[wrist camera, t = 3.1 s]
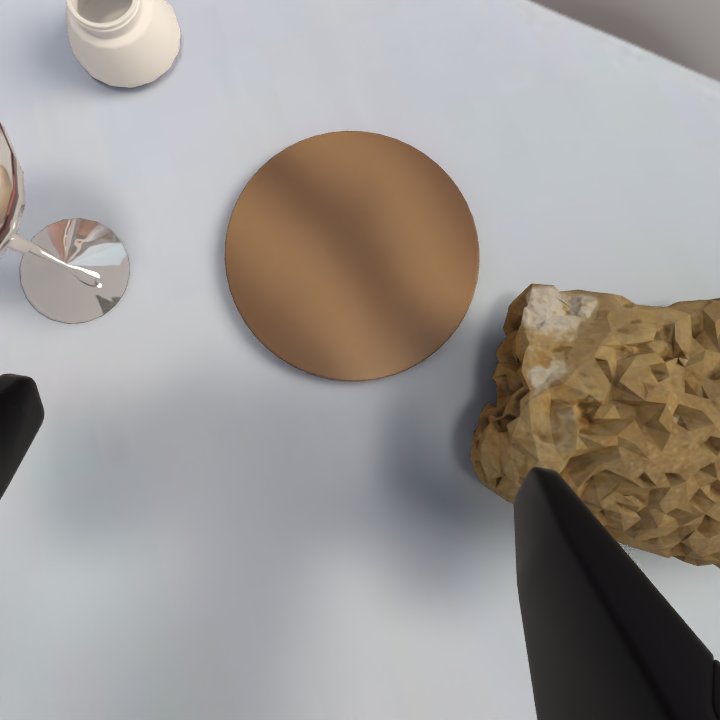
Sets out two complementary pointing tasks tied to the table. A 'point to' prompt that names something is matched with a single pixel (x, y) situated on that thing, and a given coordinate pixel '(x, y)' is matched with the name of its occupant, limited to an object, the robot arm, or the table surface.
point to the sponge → (612, 414)
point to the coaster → (352, 256)
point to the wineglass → (60, 254)
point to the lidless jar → (123, 39)
